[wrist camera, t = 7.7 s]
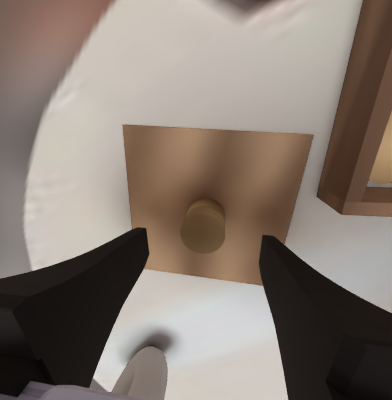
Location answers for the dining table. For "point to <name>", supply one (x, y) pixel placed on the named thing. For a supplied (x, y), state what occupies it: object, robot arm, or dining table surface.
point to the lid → (212, 196)
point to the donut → (144, 375)
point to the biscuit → (384, 158)
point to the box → (362, 118)
